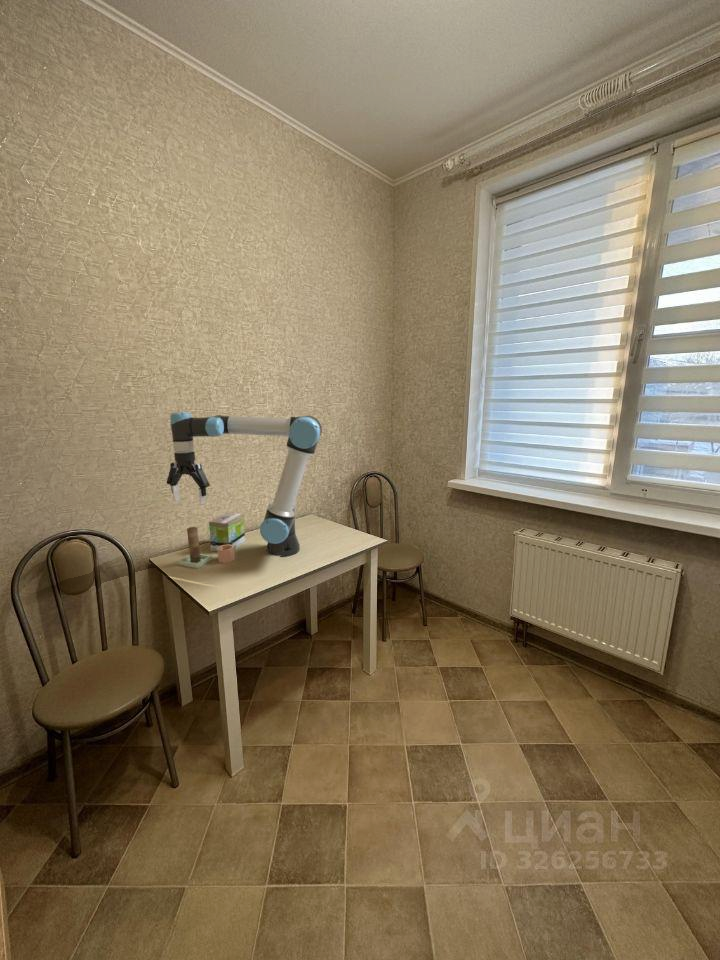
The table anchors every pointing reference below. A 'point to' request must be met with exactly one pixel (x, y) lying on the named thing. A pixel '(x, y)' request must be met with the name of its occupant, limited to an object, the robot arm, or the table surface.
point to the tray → (188, 563)
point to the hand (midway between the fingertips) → (189, 502)
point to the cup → (226, 553)
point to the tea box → (227, 530)
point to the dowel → (193, 544)
